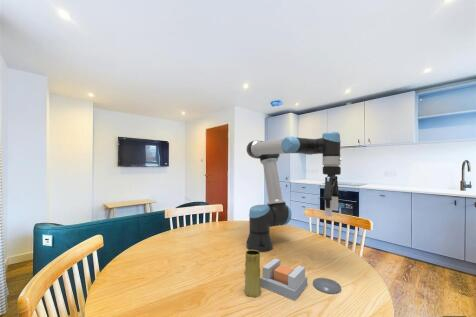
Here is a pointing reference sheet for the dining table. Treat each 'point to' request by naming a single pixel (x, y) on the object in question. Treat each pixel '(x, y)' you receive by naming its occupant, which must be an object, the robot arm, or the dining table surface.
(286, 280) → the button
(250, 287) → the vase
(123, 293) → the dining table surface
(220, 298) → the dining table surface
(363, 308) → the dining table surface
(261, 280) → the grey cradle holder
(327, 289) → the coaster
